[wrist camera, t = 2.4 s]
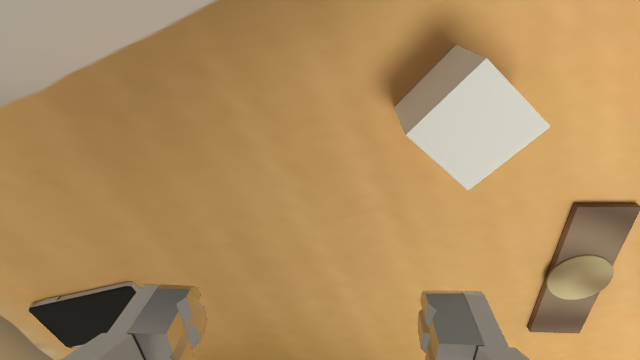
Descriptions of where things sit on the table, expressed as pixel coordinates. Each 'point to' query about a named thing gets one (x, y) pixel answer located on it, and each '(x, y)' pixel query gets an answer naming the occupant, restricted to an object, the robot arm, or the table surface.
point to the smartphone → (84, 312)
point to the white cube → (468, 116)
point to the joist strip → (581, 265)
